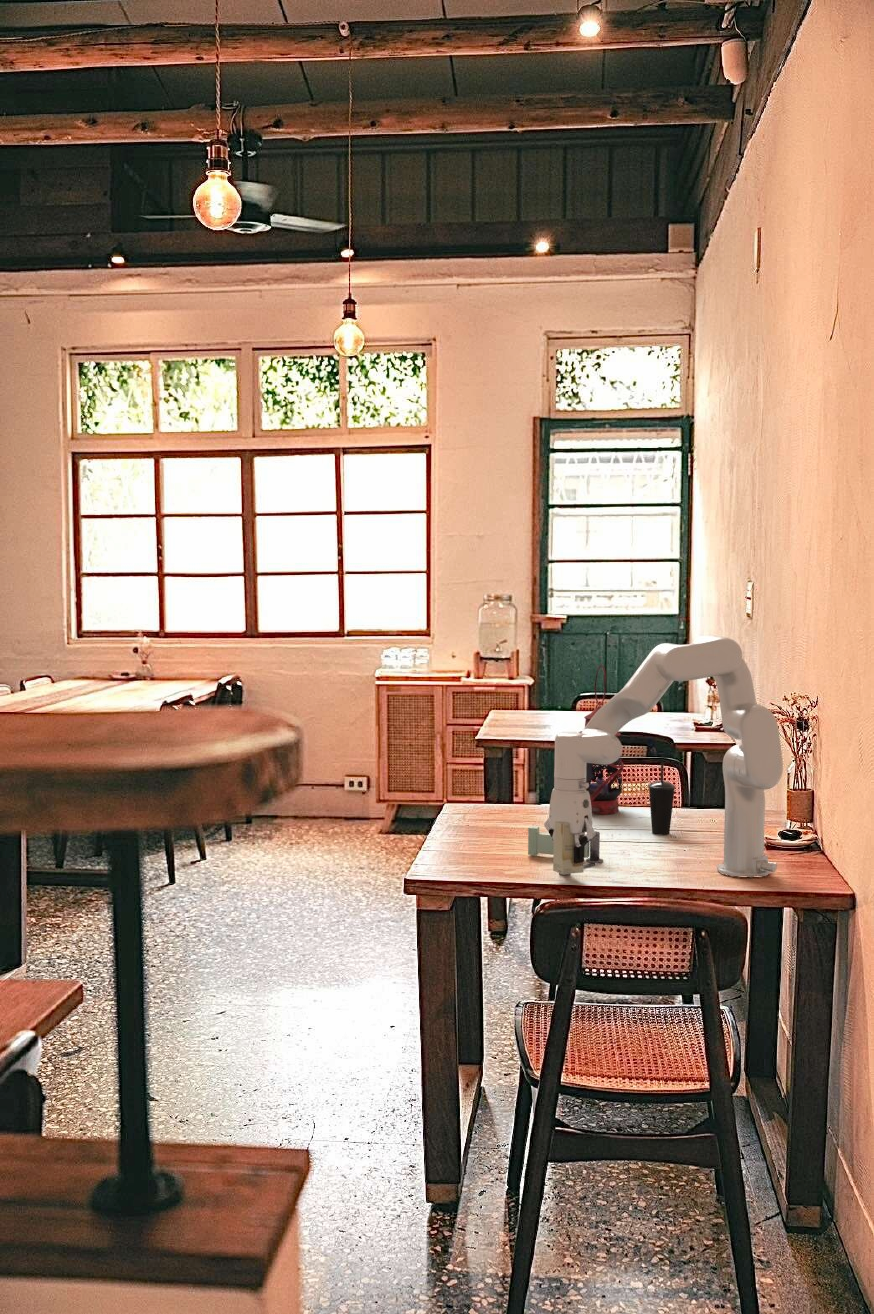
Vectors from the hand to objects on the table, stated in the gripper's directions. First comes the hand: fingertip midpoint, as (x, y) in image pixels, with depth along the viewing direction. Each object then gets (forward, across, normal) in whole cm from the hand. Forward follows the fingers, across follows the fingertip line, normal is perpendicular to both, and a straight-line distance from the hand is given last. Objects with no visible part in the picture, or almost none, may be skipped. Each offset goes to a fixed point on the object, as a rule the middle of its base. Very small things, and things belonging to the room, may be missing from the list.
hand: (569, 859), depth 289 cm
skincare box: (+3, 0, 0) cm, 3 cm away
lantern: (+5, +48, -73) cm, 87 cm away
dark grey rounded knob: (+5, +8, -20) cm, 22 cm away
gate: (+5, +17, -16) cm, 24 cm away
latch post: (+5, +5, -10) cm, 12 cm away
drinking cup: (+5, +16, -60) cm, 62 cm away
